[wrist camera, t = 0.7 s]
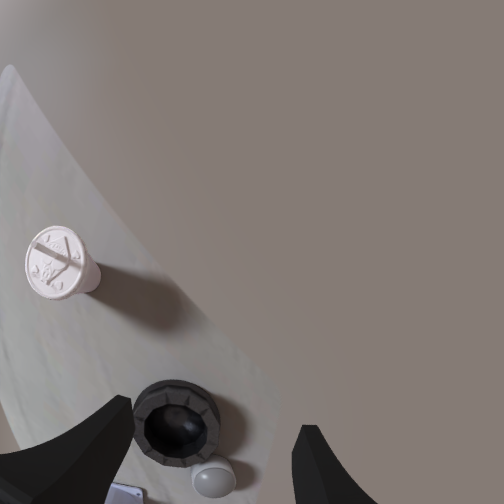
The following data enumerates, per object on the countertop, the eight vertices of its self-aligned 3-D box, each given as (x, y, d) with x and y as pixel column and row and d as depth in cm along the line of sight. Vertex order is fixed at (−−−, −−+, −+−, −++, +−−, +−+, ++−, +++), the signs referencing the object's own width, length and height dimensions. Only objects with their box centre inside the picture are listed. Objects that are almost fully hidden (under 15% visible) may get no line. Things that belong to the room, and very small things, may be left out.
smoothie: (121, 263, 31) (82, 229, 18) (98, 314, 29) (45, 312, 16) (77, 239, 30) (23, 196, 17) (55, 288, 29) (-12, 271, 15)
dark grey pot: (216, 458, 29) (220, 473, 25) (133, 449, 27) (128, 463, 23) (222, 384, 31) (228, 393, 27) (134, 373, 29) (128, 381, 25)
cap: (230, 485, 28) (235, 499, 25) (190, 484, 27) (191, 498, 24) (233, 454, 29) (238, 467, 26) (191, 452, 28) (192, 466, 25)
